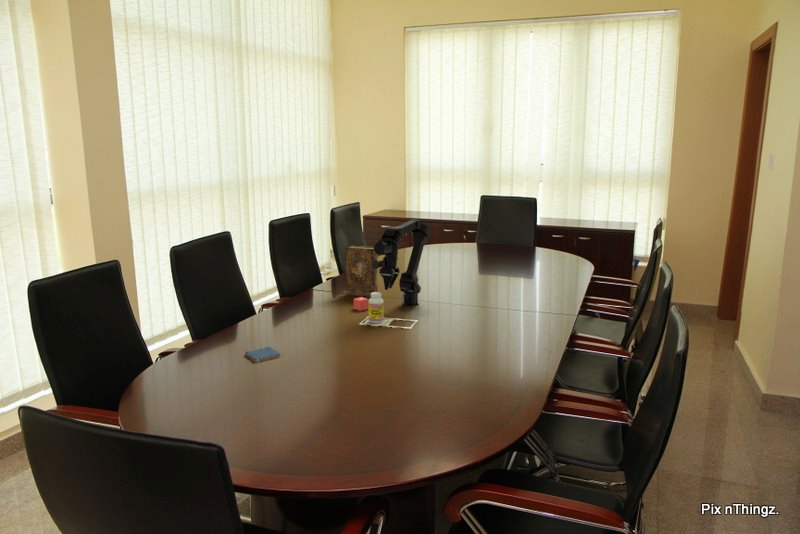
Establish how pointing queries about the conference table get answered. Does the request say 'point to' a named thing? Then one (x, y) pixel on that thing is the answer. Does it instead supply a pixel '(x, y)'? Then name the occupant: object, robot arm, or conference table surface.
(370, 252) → the book
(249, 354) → the woven mat
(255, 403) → the conference table surface
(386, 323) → the silver picture frame
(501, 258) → the conference table surface
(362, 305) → the red die
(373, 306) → the supplement bottle
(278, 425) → the conference table surface
